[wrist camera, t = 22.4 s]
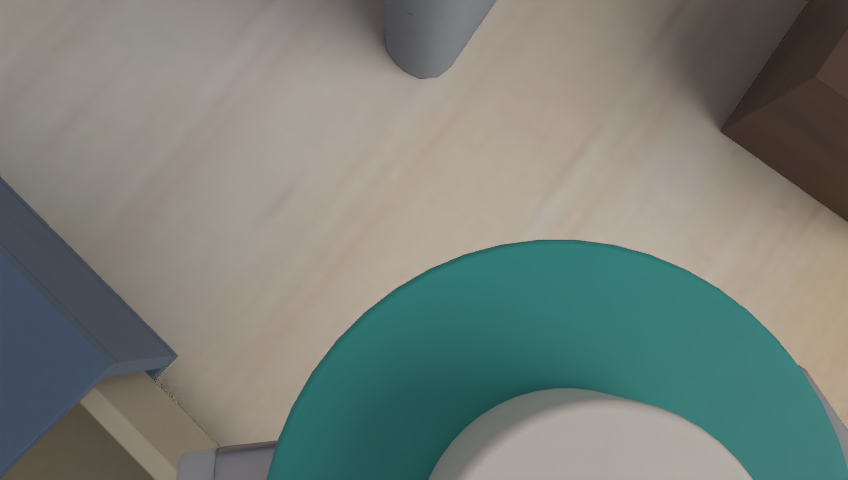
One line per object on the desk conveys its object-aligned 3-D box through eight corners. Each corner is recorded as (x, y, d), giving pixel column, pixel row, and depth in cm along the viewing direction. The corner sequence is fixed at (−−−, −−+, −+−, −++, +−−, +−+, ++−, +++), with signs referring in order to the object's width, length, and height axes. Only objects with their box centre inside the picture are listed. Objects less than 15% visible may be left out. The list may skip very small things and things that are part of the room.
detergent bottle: (608, 558, 18) (1025, 956, 6) (331, 583, 17) (245, 1055, 6) (582, 284, 18) (918, 197, 7) (316, 301, 18) (214, 240, 7)
